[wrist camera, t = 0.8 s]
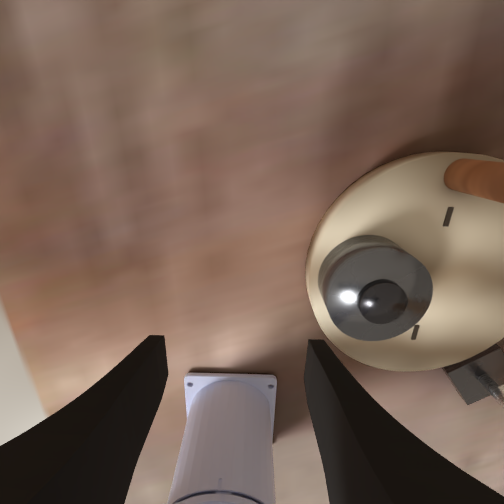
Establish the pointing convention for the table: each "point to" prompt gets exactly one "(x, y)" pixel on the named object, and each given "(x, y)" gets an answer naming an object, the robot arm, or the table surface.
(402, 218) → the turntable
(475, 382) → the grey and clear piece
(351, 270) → the iron cover
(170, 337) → the table surface
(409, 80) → the table surface
